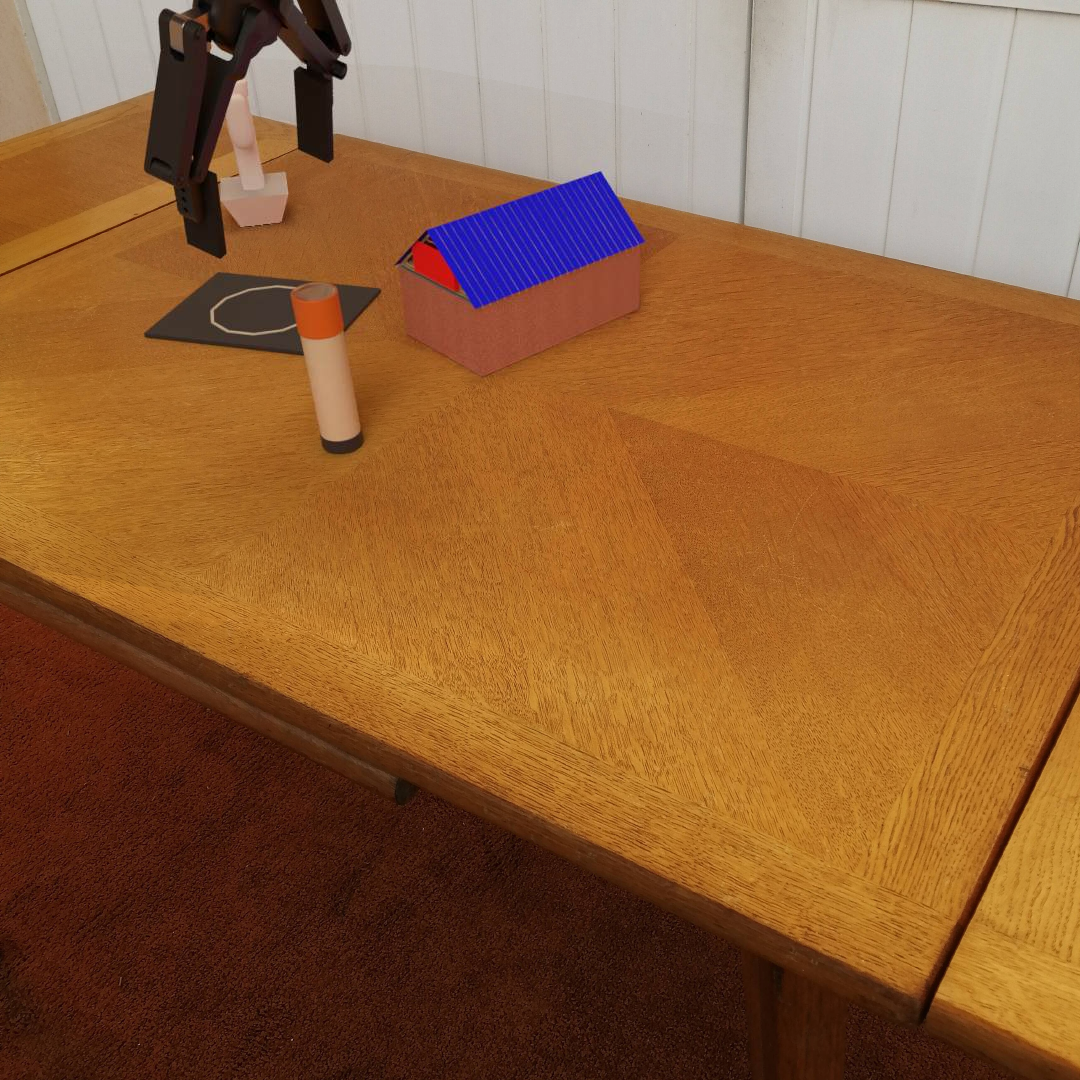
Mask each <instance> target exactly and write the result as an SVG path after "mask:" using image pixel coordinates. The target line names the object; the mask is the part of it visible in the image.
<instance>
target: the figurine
mask: <svg viewBox="0 0 1080 1080" xmlns="http://www.w3.org/2000/svg"><path fill="white" fill-rule="evenodd" d="M248 97H249V88H248V79H247V78H246V77H245V78H244V79H242V80H239V81H237V82H236V84H235V87H234V90H233V93H232V96H231V100H230V103H229V106H228V109H227V112H226V115H225V121H226V126H227V130H228V136H229V138H230V141H231V143H232V148H233V153H234V157H235V161H236V168H237V170H238V176H229V177H228V176H227V177H220V178H219V182H220V183H219V184H220V185H219V186H220V187H219V189H220V190H219V196H220V203H221V204H222V205H223V206H224V207H225V209H226V210H227V211H228V212H229V214H230V215H231V216H232V218H233V219H234V220H235V222H236V223H237V224H238V226H240V228H241V227H243V228H245V227H244V226H252V227H256V226H255V225H261V226H264V225H263V224H270V225H272V224H271V223H279V222H281V223H282V221H283V218H284V214H285V210H286V205H287V203H288V202H287V201H288V197H289V189H288V181H287V173H286V171H280V172H279V171H277V172H271V173H270V172H269V173H264V171H263V166H262V161H261V157H260V156H261V155H260V151H259V147H258V140H257V136H256V130H255V125H254V119H253V115H252V112H251V108H250V107H251V106H250V103H249V98H248Z"/></svg>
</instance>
